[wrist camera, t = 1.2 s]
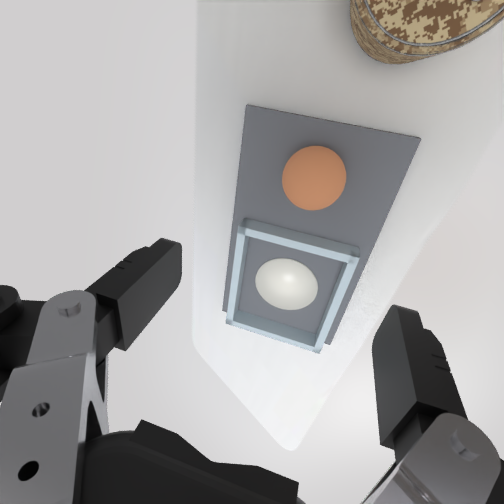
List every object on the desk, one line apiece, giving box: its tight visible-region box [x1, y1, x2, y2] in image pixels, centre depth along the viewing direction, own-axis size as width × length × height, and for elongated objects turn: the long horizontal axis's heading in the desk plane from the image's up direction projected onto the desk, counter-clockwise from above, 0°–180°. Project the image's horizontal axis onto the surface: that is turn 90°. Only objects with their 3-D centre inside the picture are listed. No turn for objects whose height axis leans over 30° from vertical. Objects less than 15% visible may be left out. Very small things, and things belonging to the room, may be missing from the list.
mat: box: [222, 105, 421, 345], centre depth 30 cm, size 24×14×1 cm, turn 172°
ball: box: [282, 146, 346, 210], centre depth 23 cm, size 5×5×5 cm
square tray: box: [226, 218, 360, 354], centre depth 31 cm, size 14×12×2 cm
